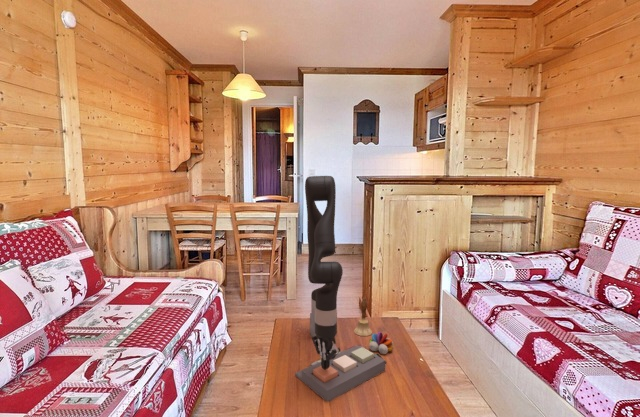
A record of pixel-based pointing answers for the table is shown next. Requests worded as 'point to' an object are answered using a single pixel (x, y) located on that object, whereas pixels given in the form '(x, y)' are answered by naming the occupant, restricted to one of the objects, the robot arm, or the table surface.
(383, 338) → the rainbow petal flower toy
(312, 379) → the keypad
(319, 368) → the key terracotta
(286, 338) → the table surface
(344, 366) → the key cream
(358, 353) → the key sage
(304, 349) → the table surface
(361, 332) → the hand bell
